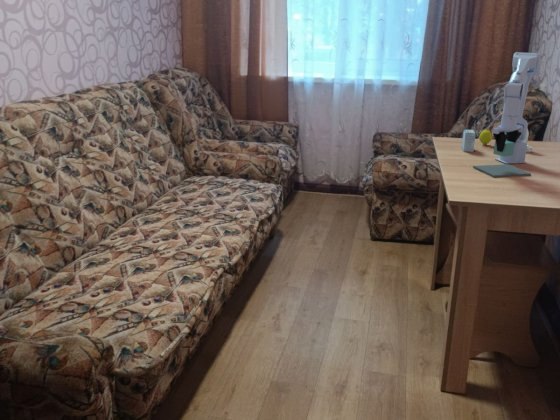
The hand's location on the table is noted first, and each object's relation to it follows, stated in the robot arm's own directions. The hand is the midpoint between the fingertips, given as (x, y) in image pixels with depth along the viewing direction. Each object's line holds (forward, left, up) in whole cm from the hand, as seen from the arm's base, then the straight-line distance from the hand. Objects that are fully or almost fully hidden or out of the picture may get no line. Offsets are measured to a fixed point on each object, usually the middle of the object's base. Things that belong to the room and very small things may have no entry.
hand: (504, 150), depth 207 cm
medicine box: (-7, -36, -9) cm, 38 cm away
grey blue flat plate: (0, 0, -8) cm, 8 cm away
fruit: (-21, -44, -9) cm, 50 cm away
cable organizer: (-31, -32, -9) cm, 45 cm away
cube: (0, 0, -2) cm, 2 cm away
